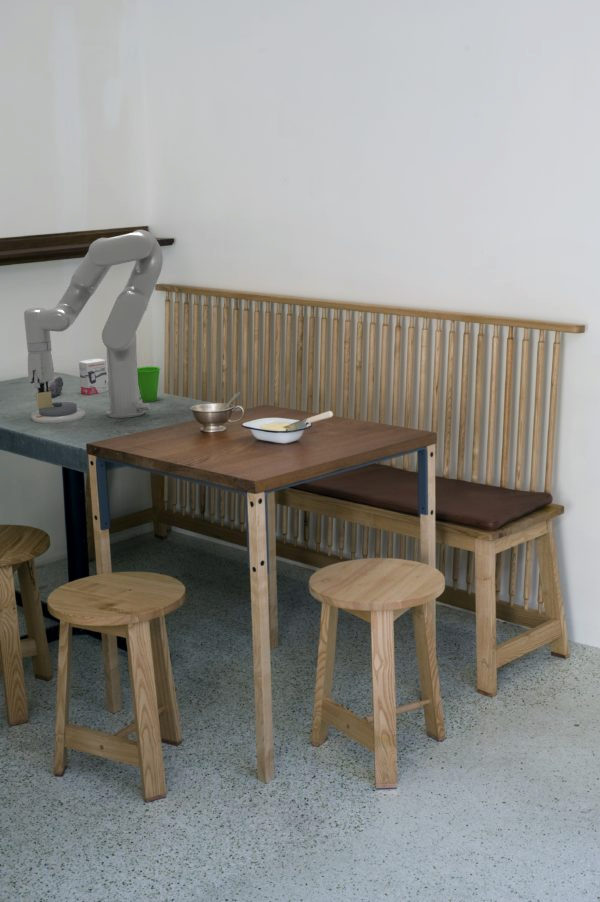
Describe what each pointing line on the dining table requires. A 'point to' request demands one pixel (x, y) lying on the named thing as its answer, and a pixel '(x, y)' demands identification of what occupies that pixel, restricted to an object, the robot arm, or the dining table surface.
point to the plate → (58, 417)
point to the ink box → (93, 376)
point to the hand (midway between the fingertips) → (44, 402)
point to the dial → (53, 405)
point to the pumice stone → (56, 386)
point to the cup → (148, 382)
